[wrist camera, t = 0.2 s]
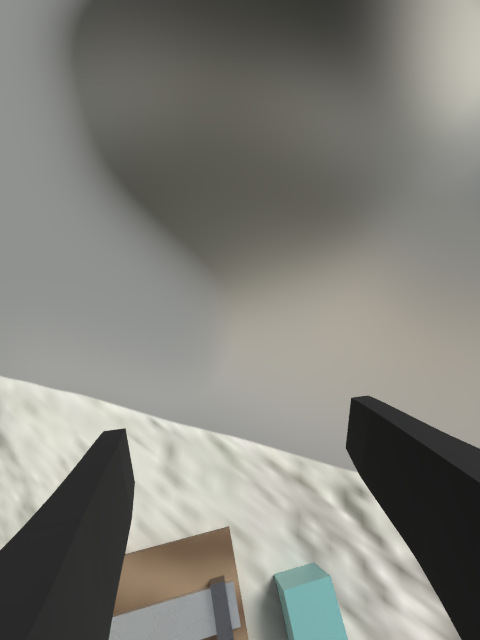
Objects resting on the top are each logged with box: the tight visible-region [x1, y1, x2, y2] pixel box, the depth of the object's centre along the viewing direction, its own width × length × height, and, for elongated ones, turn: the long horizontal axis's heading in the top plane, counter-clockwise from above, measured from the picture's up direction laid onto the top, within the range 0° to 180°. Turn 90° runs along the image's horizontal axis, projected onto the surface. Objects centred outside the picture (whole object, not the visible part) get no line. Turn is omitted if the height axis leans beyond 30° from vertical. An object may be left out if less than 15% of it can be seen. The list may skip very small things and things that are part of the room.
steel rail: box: [109, 575, 241, 640], centre depth 28 cm, size 4×21×2 cm, turn 102°
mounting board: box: [113, 527, 248, 640], centre depth 30 cm, size 12×22×1 cm, turn 102°
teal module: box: [274, 563, 348, 640], centre depth 30 cm, size 6×4×6 cm
